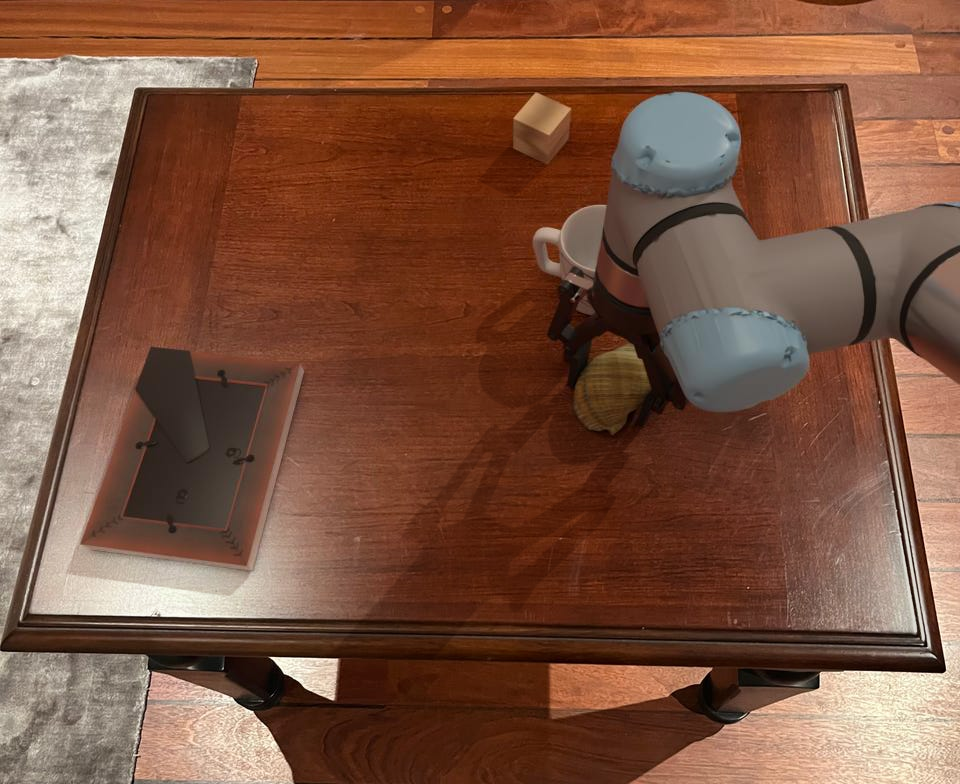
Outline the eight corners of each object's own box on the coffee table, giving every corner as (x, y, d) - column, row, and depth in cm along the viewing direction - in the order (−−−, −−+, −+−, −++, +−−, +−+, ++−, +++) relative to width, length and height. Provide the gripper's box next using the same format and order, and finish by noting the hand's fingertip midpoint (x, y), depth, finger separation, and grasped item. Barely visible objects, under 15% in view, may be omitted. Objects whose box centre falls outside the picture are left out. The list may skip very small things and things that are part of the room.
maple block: (568, 138, 99) (571, 108, 94) (547, 165, 97) (549, 135, 93) (534, 122, 100) (535, 92, 96) (513, 148, 99) (513, 118, 94)
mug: (518, 302, 89) (519, 248, 80) (545, 244, 92) (549, 186, 83) (616, 334, 86) (629, 283, 78) (640, 274, 90) (655, 218, 81)
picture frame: (159, 357, 87) (91, 550, 78) (150, 346, 85) (78, 543, 76) (305, 373, 86) (253, 571, 76) (300, 362, 83) (246, 565, 74)
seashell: (604, 445, 85) (661, 441, 78) (554, 427, 81) (609, 421, 75) (618, 359, 87) (673, 348, 81) (570, 338, 84) (624, 325, 77)
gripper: (786, 295, 61) (716, 418, 81) (558, 183, 66) (546, 324, 87) (742, 369, 58) (681, 476, 79) (508, 245, 64) (508, 376, 84)
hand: (610, 396), depth 83 cm, fingers closed on seashell, 7 cm apart
